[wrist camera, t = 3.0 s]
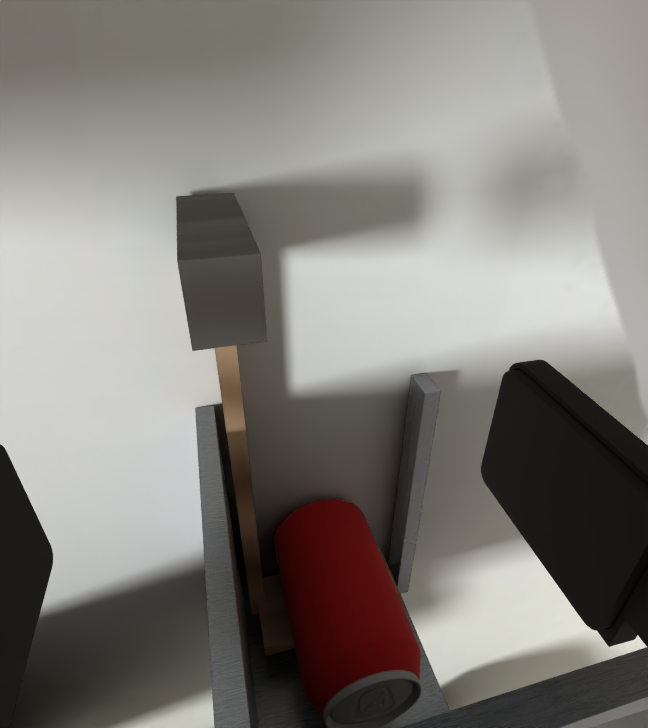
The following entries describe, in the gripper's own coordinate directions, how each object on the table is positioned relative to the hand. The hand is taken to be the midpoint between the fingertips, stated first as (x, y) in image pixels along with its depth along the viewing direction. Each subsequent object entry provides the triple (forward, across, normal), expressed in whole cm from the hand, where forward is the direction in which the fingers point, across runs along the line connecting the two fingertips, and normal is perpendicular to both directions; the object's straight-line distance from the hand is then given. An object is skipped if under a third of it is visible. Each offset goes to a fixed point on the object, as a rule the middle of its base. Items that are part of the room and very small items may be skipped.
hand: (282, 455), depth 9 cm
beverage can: (+16, -4, +22) cm, 27 cm away
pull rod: (+15, -4, +13) cm, 20 cm away
